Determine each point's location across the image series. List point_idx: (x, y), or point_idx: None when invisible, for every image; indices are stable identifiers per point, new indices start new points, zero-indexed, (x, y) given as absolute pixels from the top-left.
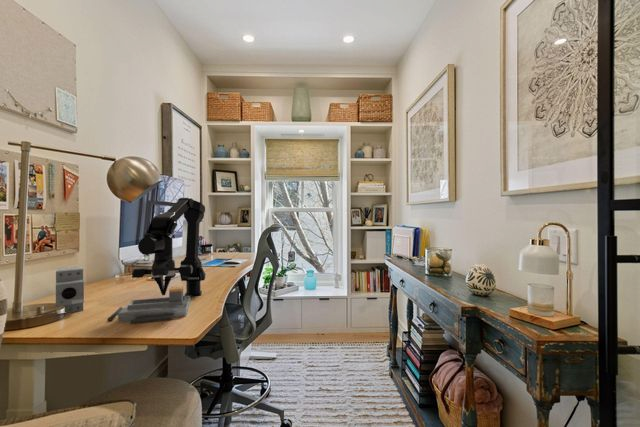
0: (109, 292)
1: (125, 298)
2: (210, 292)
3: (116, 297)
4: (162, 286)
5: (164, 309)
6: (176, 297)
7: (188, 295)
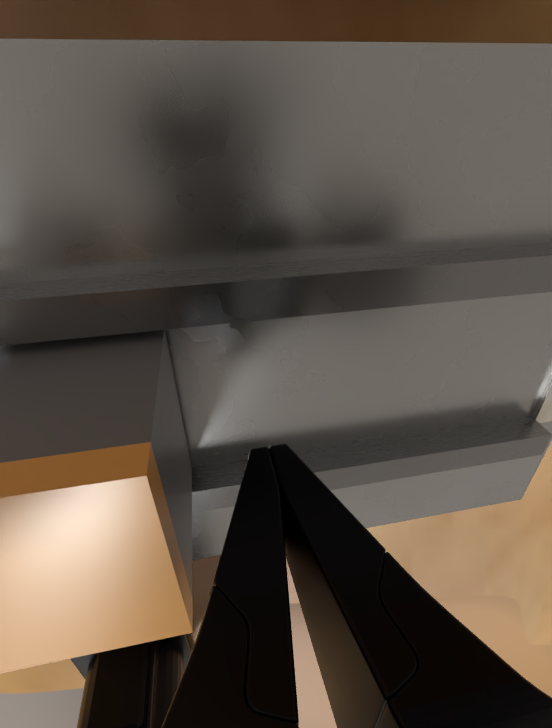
0: (542, 640)
1: (496, 588)
2: (30, 685)
3: (529, 597)
4: (319, 574)
5: (150, 45)
6: (36, 383)
7: None
